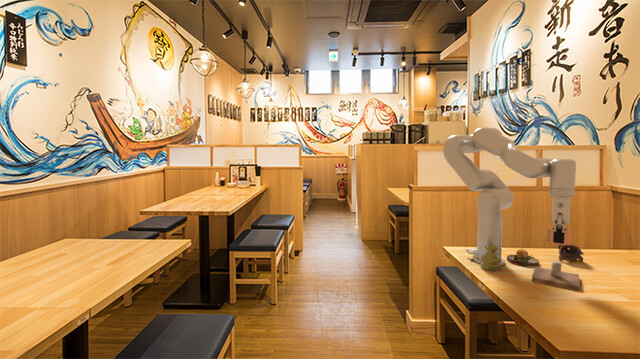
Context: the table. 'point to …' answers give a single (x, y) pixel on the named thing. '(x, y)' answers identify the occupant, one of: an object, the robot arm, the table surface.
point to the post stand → (556, 277)
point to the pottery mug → (570, 252)
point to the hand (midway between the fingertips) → (558, 240)
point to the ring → (566, 237)
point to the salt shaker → (491, 259)
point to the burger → (522, 258)
